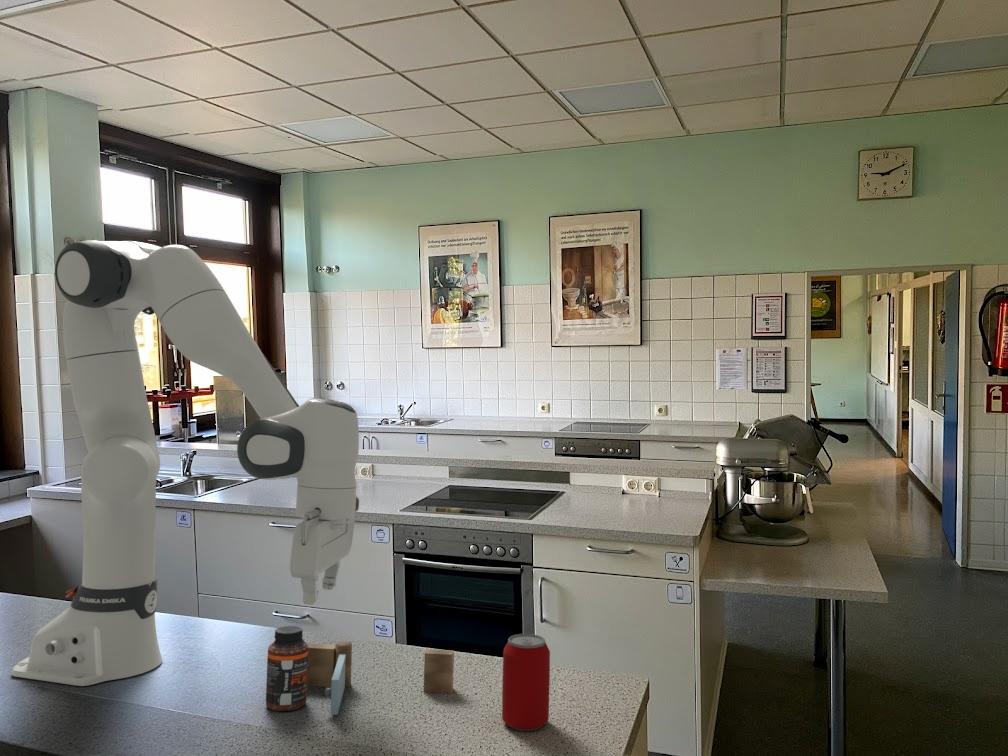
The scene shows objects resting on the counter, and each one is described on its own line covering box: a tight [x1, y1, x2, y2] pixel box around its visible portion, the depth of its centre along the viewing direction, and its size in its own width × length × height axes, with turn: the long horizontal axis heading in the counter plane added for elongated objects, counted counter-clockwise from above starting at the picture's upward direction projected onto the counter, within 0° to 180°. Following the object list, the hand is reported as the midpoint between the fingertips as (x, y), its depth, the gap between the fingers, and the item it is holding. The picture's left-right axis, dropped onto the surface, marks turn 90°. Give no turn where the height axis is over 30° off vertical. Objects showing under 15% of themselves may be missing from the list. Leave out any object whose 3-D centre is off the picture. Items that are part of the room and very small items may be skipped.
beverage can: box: [501, 633, 551, 732], centre depth 111 cm, size 7×7×12 cm
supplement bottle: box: [265, 625, 308, 712], centre depth 116 cm, size 6×6×11 cm
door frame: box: [307, 641, 455, 694], centre depth 124 cm, size 27×3×6 cm, turn 85°
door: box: [324, 654, 346, 716], centre depth 117 cm, size 11×2×5 cm, turn 7°
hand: (319, 595), depth 117 cm, fingers open, 8 cm apart
